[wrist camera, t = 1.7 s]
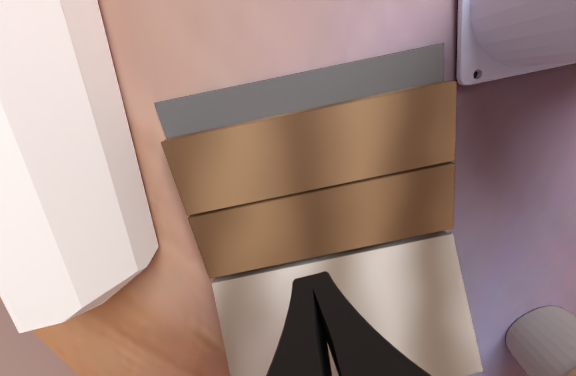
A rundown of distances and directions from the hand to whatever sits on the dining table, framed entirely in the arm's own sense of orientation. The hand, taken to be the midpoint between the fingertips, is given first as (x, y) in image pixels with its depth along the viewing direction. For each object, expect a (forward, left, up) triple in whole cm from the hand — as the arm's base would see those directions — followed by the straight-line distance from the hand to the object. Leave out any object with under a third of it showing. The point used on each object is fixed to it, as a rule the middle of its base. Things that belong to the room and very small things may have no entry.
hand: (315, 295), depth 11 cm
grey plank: (-2, +8, -6) cm, 10 cm away
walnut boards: (-2, -2, -8) cm, 8 cm away
